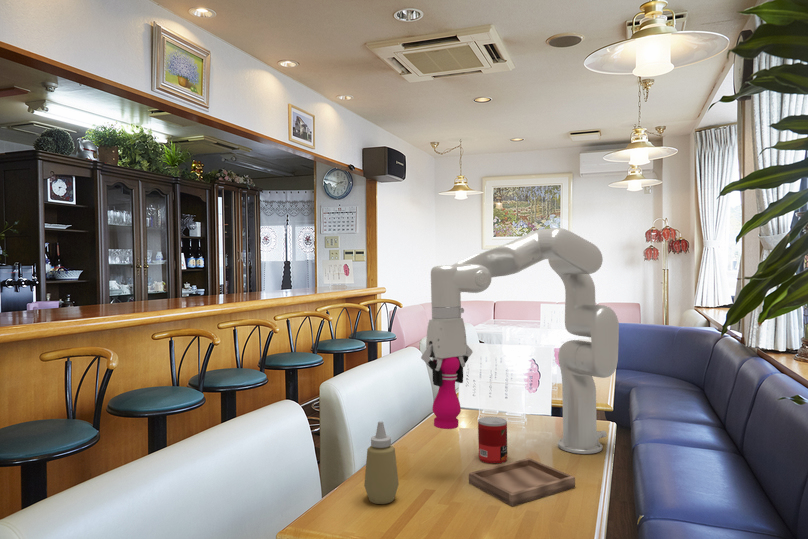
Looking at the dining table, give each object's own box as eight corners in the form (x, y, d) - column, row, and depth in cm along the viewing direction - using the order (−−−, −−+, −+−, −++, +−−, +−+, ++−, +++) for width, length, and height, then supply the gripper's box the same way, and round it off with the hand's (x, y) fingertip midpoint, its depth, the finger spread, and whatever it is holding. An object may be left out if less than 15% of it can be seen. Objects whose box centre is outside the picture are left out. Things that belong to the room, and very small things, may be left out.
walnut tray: (528, 467, 147) (528, 458, 147) (575, 487, 133) (575, 477, 133) (468, 483, 137) (468, 473, 137) (512, 506, 123) (512, 495, 123)
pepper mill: (464, 424, 142) (466, 347, 143) (454, 431, 136) (456, 350, 137) (438, 421, 146) (440, 345, 146) (427, 427, 139) (430, 348, 140)
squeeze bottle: (386, 510, 122) (385, 429, 122) (357, 502, 126) (356, 424, 126) (405, 496, 129) (404, 420, 129) (377, 490, 133) (376, 415, 133)
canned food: (507, 465, 149) (506, 424, 149) (477, 463, 151) (477, 423, 151) (507, 455, 157) (507, 417, 157) (479, 454, 158) (478, 415, 158)
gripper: (464, 310, 149) (466, 377, 149) (410, 315, 140) (412, 385, 140) (482, 312, 142) (483, 381, 142) (426, 317, 133) (428, 391, 134)
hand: (448, 383), depth 141 cm, fingers closed on pepper mill, 5 cm apart
